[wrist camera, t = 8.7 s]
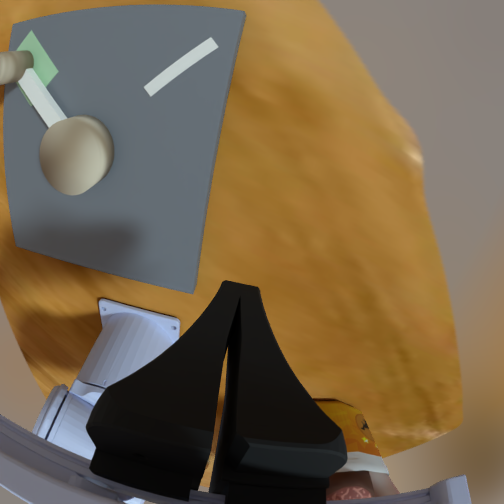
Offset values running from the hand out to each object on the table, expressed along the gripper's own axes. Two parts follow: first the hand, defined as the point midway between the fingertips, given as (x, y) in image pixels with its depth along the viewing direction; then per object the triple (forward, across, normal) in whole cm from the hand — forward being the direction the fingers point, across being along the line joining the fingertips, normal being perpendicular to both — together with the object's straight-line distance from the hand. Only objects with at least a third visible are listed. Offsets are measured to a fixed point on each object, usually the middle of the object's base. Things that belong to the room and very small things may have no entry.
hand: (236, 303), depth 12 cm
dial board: (+10, +12, -2) cm, 16 cm away
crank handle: (+9, +15, -5) cm, 18 cm away
